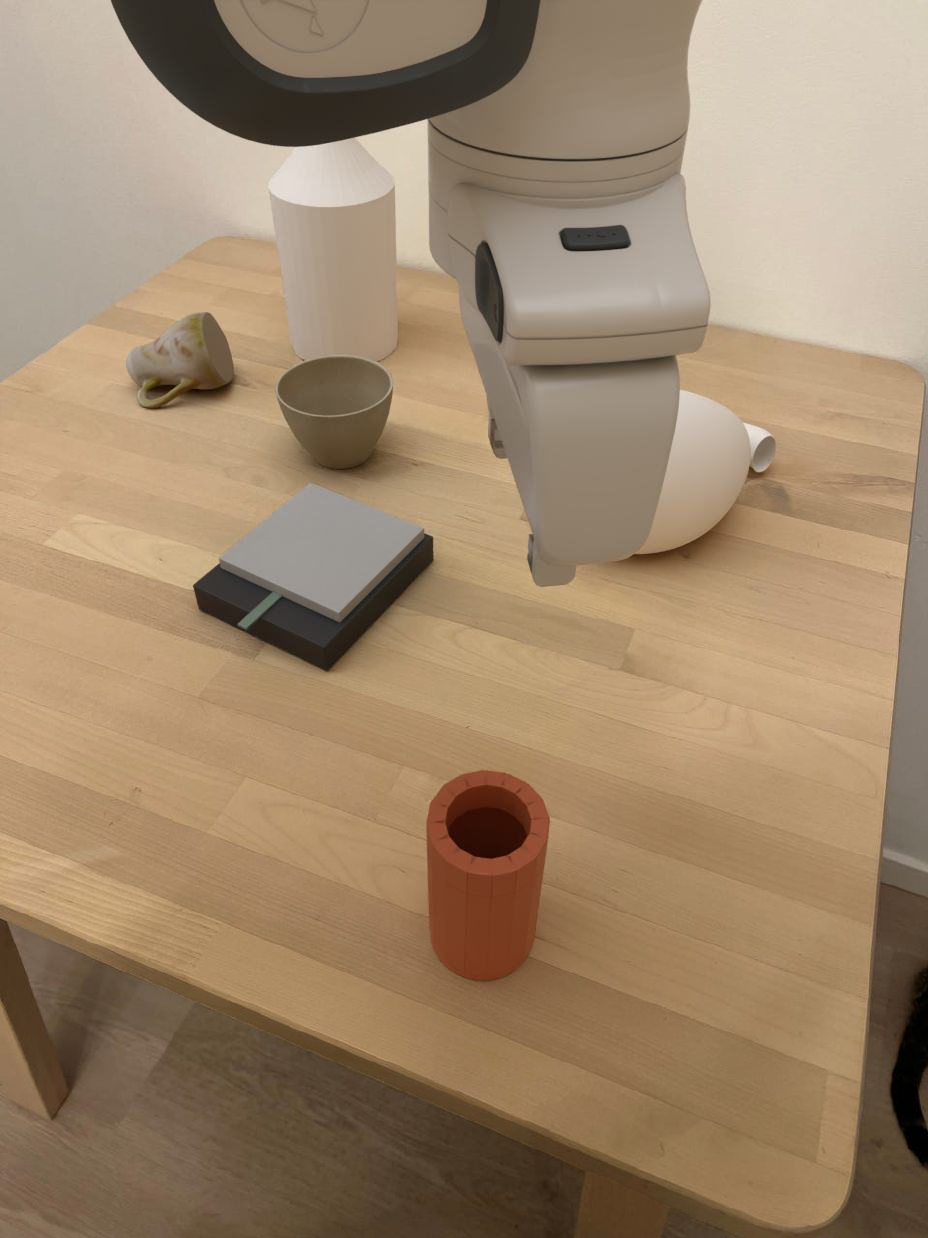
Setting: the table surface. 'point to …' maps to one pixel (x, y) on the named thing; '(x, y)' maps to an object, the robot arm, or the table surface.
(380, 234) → the bottle
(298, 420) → the olive grey bowl
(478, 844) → the jar
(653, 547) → the stomach
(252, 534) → the scale
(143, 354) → the mug
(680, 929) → the table surface
